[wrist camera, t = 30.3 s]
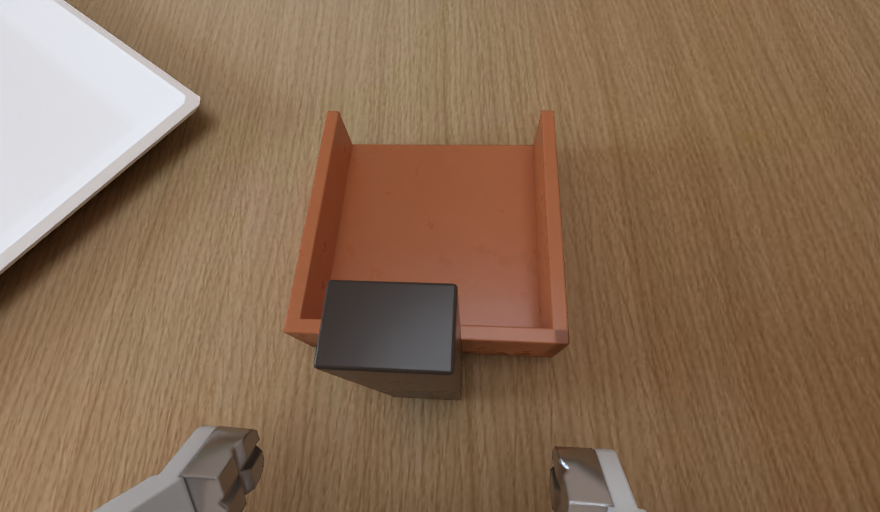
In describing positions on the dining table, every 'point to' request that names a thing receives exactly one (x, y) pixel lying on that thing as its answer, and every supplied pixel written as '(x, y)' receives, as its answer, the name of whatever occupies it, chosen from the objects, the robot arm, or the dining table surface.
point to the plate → (70, 116)
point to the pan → (429, 260)
